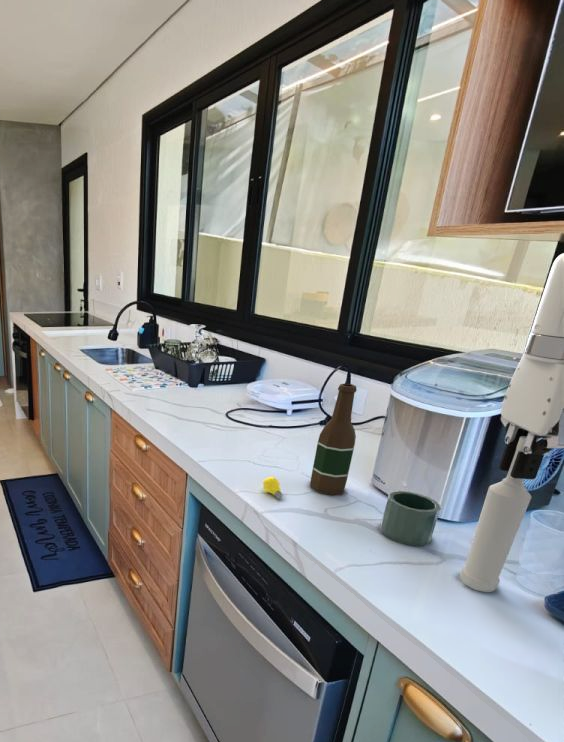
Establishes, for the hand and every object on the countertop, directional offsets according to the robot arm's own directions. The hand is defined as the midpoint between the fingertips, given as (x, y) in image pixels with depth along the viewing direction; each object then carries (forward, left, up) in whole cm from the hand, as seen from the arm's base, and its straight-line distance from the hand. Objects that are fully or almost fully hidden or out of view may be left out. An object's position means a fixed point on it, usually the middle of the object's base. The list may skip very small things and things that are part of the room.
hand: (516, 473), depth 75 cm
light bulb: (+27, -29, -20) cm, 44 cm away
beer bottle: (+14, -34, -20) cm, 42 cm away
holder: (+5, -15, -20) cm, 25 cm away
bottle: (0, 0, -20) cm, 20 cm away
